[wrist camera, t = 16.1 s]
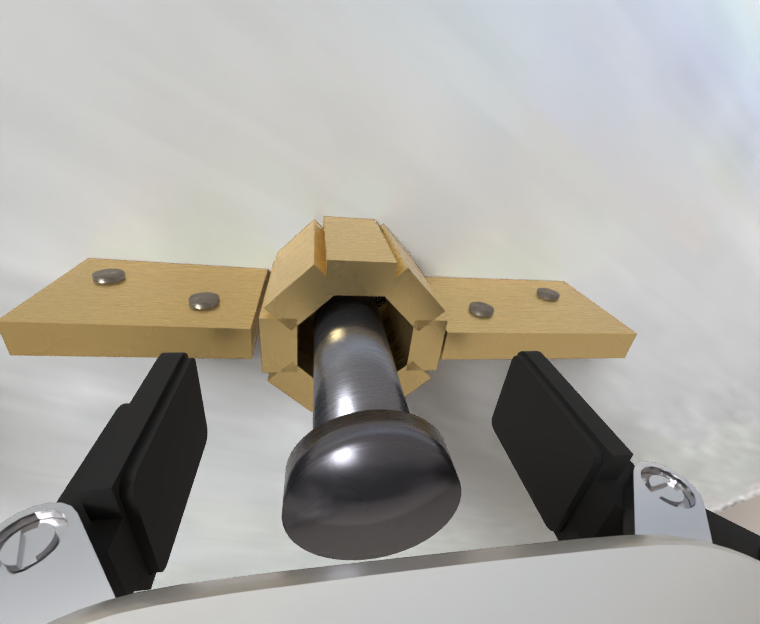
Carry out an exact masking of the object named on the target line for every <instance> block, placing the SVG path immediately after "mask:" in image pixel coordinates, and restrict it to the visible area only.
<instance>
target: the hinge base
mask: <svg viewBox="0 0 760 624" xmlns="http://www.w3.org/2000/svg"><path fill="white" fill-rule="evenodd" d="M334 295H347V296H385V297H386V300H385V303H384V304H382V305H381V306H380V307H378V310H379V313H380V317H381V320H382V323H383V327H384V330H385V333H386V337H387V340H388V343H389V347H390V350H391V353H392V357H393V360H394V363H395V367H396V370H397V373H398V377H399V380H400V383H401V387H402V390H403V393H404V397H405V396H406V395H408V394H409V393H411V392H412V391H413V390H415V389H416V388H418V387H419V386H420V385H422V384H423V383H425V382H426V381H428V380H429V379H430V378H431V377H430V375H429V372H428V370H437V366H438V362H439V357H441V360H444V359H513V357H514V356H517V354H518V353H519V352H520V351H540V352H541V353H542V354H543V355H544V356H545V357H546V358H547V359H561V358H625V356H626V354H627V352H628V350H629V348H630V346H631V344H632V343H633V341H634V339H635V337H636V335H637V333H636V332H634V331H633V330H631V329H630V328H629V327H627V326H626V325H624V324H623V323H622V322H620V321H619V320H617V319H616V318H615V317H613V316H612V315H610V314H609V313H608V312H606V311H605V310H603V309H602V308H601V307H599V306H598V305H596V304H595V303H594V302H592V301H591V300H589V299H588V298H587V297H585V296H584V295H583V294H581V293H580V292H578V291H577V290H576V289H574V288H573V287H571V286H570V285H569V284H567V283H566V282H564V281H537V280H508V279H479V278H450V277H424V276H423V274H422V273H421V271H420V270H419V268H418V266H417V265H416V263H415V262H414V260H413V259H412V257H411V256H410V255H409V254H408V253H407V251H406V250H405V249H404V248H403V247H402V245H401V244H400V243H399V242H398V241H397V239H396V238H395V237H394V236H393V235H392V233H391V232H390V231H389V230H388V229H387V227H386V226H385V225H384V224H382V225H381V226H380V227H379V226H378V224H377V222H376V220H375V219H360V218H344V217H328V216H324V223H323V228H322V227H321V226H320V225H319V224H318V223H317V222H316V221H315V220H313V221H312V222H311V223H310V224H309V225H308V226H307V227H305V228H304V229H303V230H302V231H301V232H300V233H299V234H298V235H297V236H295V237H294V238H293V239H292V240H291V241H290V242H289V243H288V244H287V245H285V246H284V247H283V248H282V249H281V250H280V251H279V252H278V253H277V256H276V260H275V261H274V263H273V266H272V270H271V274H270V278H269V282H268V285H267V289H266V293H265V297H264V301H263V304H262V308H261V312H260V316H259V328H260V344H261V359H262V373H267V372H269V376H268V382H270V383H271V384H272V385H274V386H275V387H277V388H278V389H280V390H281V391H282V392H284V393H285V394H287V395H288V396H290V397H291V398H292V399H294V400H295V401H297V402H298V403H300V404H301V405H302V406H304V407H305V408H307V409H308V410H309V411H311V412H312V411H313V379H314V312H315V311H316V310H317V309H318V308H319V307H321V306H322V305H323V304H324V303H325V302H327V301H328V300H329V299H330V298H331V297H333V296H334Z"/></svg>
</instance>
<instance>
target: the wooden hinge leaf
mask: <svg viewBox="0 0 760 624" xmlns="http://www.w3.org/2000/svg"><path fill="white" fill-rule="evenodd" d="M267 285H268V269H257V268H241V267H225V266H208V265H192V264H175V263H159V262H142V261H126V260H110V259H93V258H88V259H86V260H85V261H83V262H82V263H80V264H79V265H77V266H76V267H75V268H73V269H72V270H70V271H69V272H67V273H66V274H64V275H63V276H61V277H60V278H58V279H57V280H55V281H54V282H53V283H51V284H50V285H48V286H47V287H45V288H44V289H42V290H41V291H39V292H38V293H36V294H35V295H34V296H32V297H31V298H29V299H28V300H26V301H25V302H23V303H22V304H20V305H19V306H17V307H16V308H15V309H13V310H12V311H10V312H9V313H7V314H6V315H4V316H3V317H1V318H0V333H1V335H2V337H3V340H4V342H5V344H6V347H7V349H8V351H9V354H10V355H26V356H95V357H159V355H160V354H161V353H165V352H185V353H187V355H188V358H232V359H252V356H253V352H254V348H255V344H256V340H257V336H258V332H259V316H260V312H261V308H262V304H263V301H264V297H265V293H266V289H267Z"/></svg>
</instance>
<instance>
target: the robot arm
mask: <svg viewBox="0 0 760 624" xmlns="http://www.w3.org/2000/svg"><path fill="white" fill-rule="evenodd" d="M492 426H493V429H494V431H495V433H496V435H497V437H498V438H499V440H500V442H501V444H502V446H503V447H504V449H505V451H506V453H507V455H508V457H509V458H510V460H511V462H512V464H513V466H514V468H515V469H516V471H517V473H518V475H519V477H520V479H521V480H522V482H523V484H524V486H525V488H526V490H527V491H528V493H529V495H530V497H531V499H532V501H533V502H534V504H535V506H536V508H537V510H538V512H539V513H540V515H541V517H542V519H543V521H544V523H545V524H546V526H547V527H548V528H549V529H550V530H551V531H554V533H555V535H556V537H557V538H558V540H559V541H554V542H544V543H534V544H525V545H515V546H506V547H496V548H486V549H477V550H468V551H459V552H450V553H441V554H431V555H422V556H413V557H404V558H395V559H386V560H377V561H368V562H360V563H351V564H342V565H334V566H325V567H316V568H308V569H299V570H290V571H282V572H273V573H264V574H256V575H248V576H241V577H233V578H226V579H218V580H211V581H203V582H196V583H188V584H181V585H175V586H170V587H164V588H159V589H153V590H149V589H151V587H152V584H153V581H154V578H155V575H156V572H163V571H164V569H165V568H166V565H167V563H168V560H169V556H170V553H171V550H172V547H173V544H174V541H175V538H176V535H177V532H178V528H179V525H180V522H181V519H182V516H183V513H184V510H185V507H186V504H187V501H188V497H189V494H190V491H191V488H192V485H193V482H194V479H195V476H196V473H197V469H198V466H199V463H200V460H201V457H202V454H203V451H204V448H205V445H206V441H207V424H206V418H205V412H204V407H203V401H202V395H201V389H200V383H199V378H198V372H197V366H196V361H195V359H194V358H188V355H187V353H185V352H165V353H161V354H160V355H159V357H158V359H157V360H156V362H155V363H154V365H153V367H152V368H151V370H150V371H149V373H148V375H147V376H146V378H145V380H144V381H143V383H142V384H141V386H140V388H139V389H138V391H137V393H136V394H135V396H134V397H133V399H132V401H131V402H130V403H128V404H122V405H121V406H119V408H118V409H117V410H116V411H115V413H114V414H113V416H112V418H111V419H110V421H109V422H108V424H107V425H106V427H105V428H104V430H103V431H102V433H101V435H100V436H99V438H98V439H97V441H96V442H95V444H94V445H93V447H92V448H91V450H90V451H89V453H88V455H87V456H86V458H85V459H84V461H83V462H82V464H81V465H80V467H79V468H78V470H77V472H76V473H75V475H74V476H73V478H72V479H71V481H70V482H69V484H68V485H67V487H66V489H65V490H64V492H63V493H62V495H61V496H60V498H59V499H58V501H57V502H56V503H45V504H41V505H36V506H33V507H31V508H28V509H26V510H23V511H21V512H19V513H17V514H15V515H13V516H12V517H10V518H8V519H7V520H5V521H4V522H2V523H1V524H0V624H760V536H759V535H757V534H755V533H753V532H751V531H749V530H747V529H745V528H743V527H741V526H739V525H737V524H735V523H733V522H731V521H729V520H727V519H725V518H723V517H721V516H719V515H717V514H715V513H713V512H711V511H709V510H707V509H705V506H704V502H703V500H702V497H701V495H700V493H699V492H698V491H697V490H696V488H695V487H694V486H693V485H692V484H691V483H690V482H689V481H688V480H687V479H686V478H684V477H683V476H682V475H680V474H679V473H677V472H676V471H674V470H672V469H670V468H668V467H666V466H664V465H661V464H658V463H655V462H648V461H645V462H639V463H638V464H637V465H635V466H634V464H633V463H632V462H631V461H630V459H631V457H632V456H633V453H632V452H631V451H630V450H629V449H628V448H627V447H626V446H625V444H624V443H623V442H622V441H621V440H620V439H619V438H618V437H617V436H616V435H615V433H614V432H613V431H612V430H611V429H610V428H609V427H608V426H607V425H606V423H605V422H604V421H603V420H602V419H601V418H600V417H599V416H598V415H597V414H596V412H595V411H594V410H593V409H592V408H591V407H590V406H589V405H588V404H587V402H586V401H585V400H584V399H583V398H582V397H581V396H580V395H579V394H578V393H577V391H576V390H575V389H574V388H573V387H572V386H571V385H570V384H569V383H568V381H567V380H566V379H565V378H564V377H563V376H562V375H561V374H560V373H559V372H558V370H557V369H556V368H555V367H554V366H553V365H552V364H551V363H550V362H549V361H548V359H547V358H546V357H545V356H544V355H543V354H542V353H541V352H540V351H520V352H519V353H518V354H517V356H514V357H513V359H512V361H511V364H510V367H509V370H508V373H507V376H506V379H505V382H504V384H503V387H502V390H501V393H500V396H499V399H498V402H497V405H496V408H495V411H494V414H493V417H492ZM141 590H147V591H142V592H137V593H133V592H134V591H141Z"/></svg>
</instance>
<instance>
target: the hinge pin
mask: <svg viewBox="0 0 760 624" xmlns="http://www.w3.org/2000/svg"><path fill="white" fill-rule="evenodd" d="M460 498H461V485H460V481H459V479H458V476H457V473H456V471H455V468H454V465H453V463H452V460H451V457H450V455H449V452H448V449H447V447H446V444H445V442H444V439H443V437H442V436H441V434H440V433H439V431H438V430H437V429H436V428H435V427H434V426H433V425H431V424H430V423H429V422H427V421H426V420H424V419H422V418H420V417H418V416H415V415H412V414H410V413H409V410H408V407H407V403H406V400H405V397H404V393H403V390H402V387H401V383H400V380H399V377H398V373H397V370H396V367H395V363H394V360H393V357H392V353H391V350H390V347H389V343H388V340H387V337H386V333H385V330H384V327H383V323H382V320H381V317H380V313H379V310H378V307H377V303H376V300H375V297H374V296H347V295H334V296H333V297H331V298H330V299H329V300H328V301H327V302H325V303H324V304H323V305H322V306H321V307H319V308H318V309H317V310H316V311H315V312H314V379H313V430H312V431H311V432H309V433H308V434H307V435H306V436H305V437H303V438H302V440H301V441H300V442H299V443H298V444H297V445H296V446H295V448H294V449H293V451H292V452H291V454H290V457H289V459H288V462H287V465H286V473H285V484H284V496H283V508H282V522H283V526H284V529H285V531H286V533H287V534H288V536H289V537H290V539H291V540H292V541H293V542H294V543H295V544H297V545H298V546H300V547H301V548H303V549H305V550H306V551H308V552H311V553H313V554H316V555H319V556H322V557H326V558H332V559H339V560H365V559H373V558H379V557H384V556H388V555H392V554H395V553H398V552H401V551H404V550H407V549H409V548H411V547H414V546H416V545H418V544H420V543H421V542H423V541H425V540H427V539H428V538H430V537H431V536H433V535H434V534H435V533H437V532H438V531H439V530H440V529H442V528H443V527H444V526H445V525H446V524H447V523H448V521H449V520H450V519H451V518H452V516H453V515H454V513H455V511H456V510H457V507H458V505H459V502H460Z"/></svg>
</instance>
